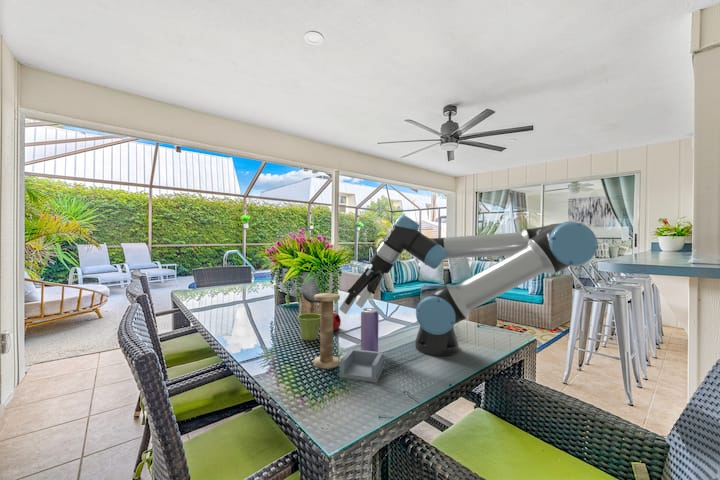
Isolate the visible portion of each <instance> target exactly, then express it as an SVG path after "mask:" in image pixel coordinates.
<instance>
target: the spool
mask: <svg viewBox="0 0 720 480" xmlns="http://www.w3.org/2000/svg"><path fill="white" fill-rule="evenodd" d="M340 298H341V295H340V294H338V293H334V292H333V293H332V292H325V293H324V292H323V293H317V294H314V296H313V299H314V300H315V301H317V302H320V315H321V316H320V327H319V330H320V332H319V333H320V335H319V336H320V339H319V340H320V341H319V343H320V344H319V349H320V351H319V356H317V357H315V358H313V365H314V367H316V368H317V369H320V370H321V369H323V370H328V369H329V370H330V369H333V368H334V369H335V368H336V367H338V366H340V358H339V357H338V356H335V355H334V331H333V313H334V312H333V311H334V302H336V301H339V300H340Z"/></svg>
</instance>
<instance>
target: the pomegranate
mask: <svg viewBox="0 0 720 480" xmlns="http://www.w3.org/2000/svg"><path fill="white" fill-rule="evenodd" d="M341 319H342V318H341V317H340V315H339V314H338V313H337V310H333V332H334V331H337V330H338V329H339V328H340V327H341V322H342V321H341ZM319 328H320V325H319Z"/></svg>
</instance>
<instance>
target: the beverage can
mask: <svg viewBox="0 0 720 480" xmlns="http://www.w3.org/2000/svg"><path fill="white" fill-rule="evenodd" d="M360 315H361V316H360V350H366V351H375V352H379V321H380V319H379V309H378V308H373V307H366V308H365V307H364V308H361V313H360Z"/></svg>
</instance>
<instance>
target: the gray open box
mask: <svg viewBox="0 0 720 480" xmlns="http://www.w3.org/2000/svg"><path fill="white" fill-rule="evenodd" d="M339 368H340V369H339V372H338V377H339V378H342V379H349V380H356V381H362V382H370V383H378V381H379V379H380V376H381V375H382V372H383V370H384V369H385V363H384V352H382V351H378V352H375V351H366V350H361V349H357V348H350V349H349V350H348V351H347V352H346V354H345V355H344V356H343V357H342V358H341V359H340V360H339Z"/></svg>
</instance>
